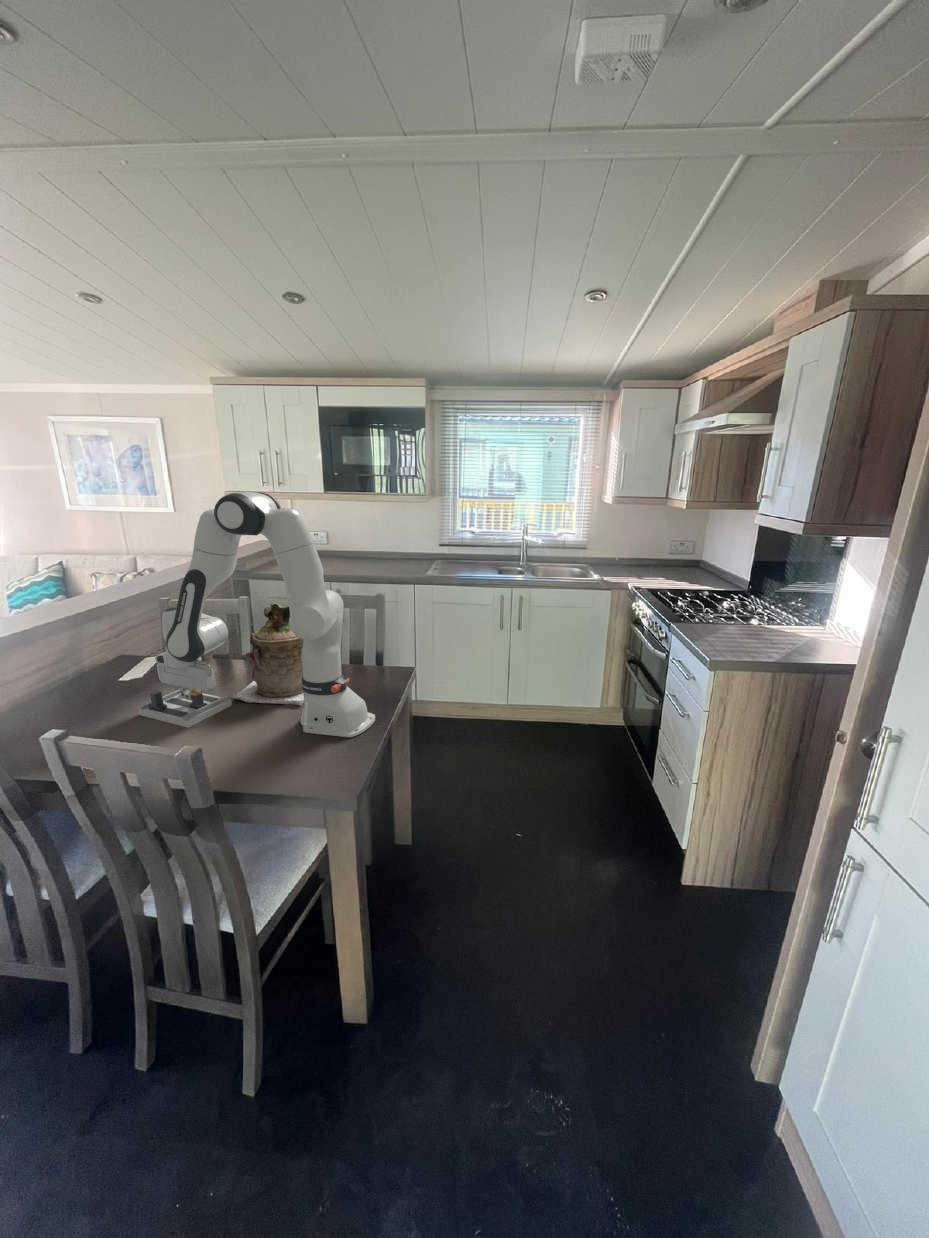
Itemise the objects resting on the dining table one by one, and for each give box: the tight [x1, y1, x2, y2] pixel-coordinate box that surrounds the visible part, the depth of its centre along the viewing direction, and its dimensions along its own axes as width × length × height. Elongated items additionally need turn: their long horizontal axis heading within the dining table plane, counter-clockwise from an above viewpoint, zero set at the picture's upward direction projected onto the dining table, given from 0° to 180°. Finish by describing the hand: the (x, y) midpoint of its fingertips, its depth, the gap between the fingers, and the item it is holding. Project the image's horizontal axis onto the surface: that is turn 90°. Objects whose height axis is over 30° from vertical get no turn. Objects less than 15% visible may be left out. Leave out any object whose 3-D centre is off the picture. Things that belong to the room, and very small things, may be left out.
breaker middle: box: [189, 690, 207, 708], centre depth 145 cm, size 5×2×5 cm, turn 69°
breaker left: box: [149, 690, 167, 710], centre depth 143 cm, size 5×2×5 cm, turn 69°
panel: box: [138, 688, 233, 728], centre depth 148 cm, size 20×16×3 cm
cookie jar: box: [231, 602, 304, 707], centre depth 160 cm, size 25×25×32 cm
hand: (190, 699), depth 146 cm, fingers closed
